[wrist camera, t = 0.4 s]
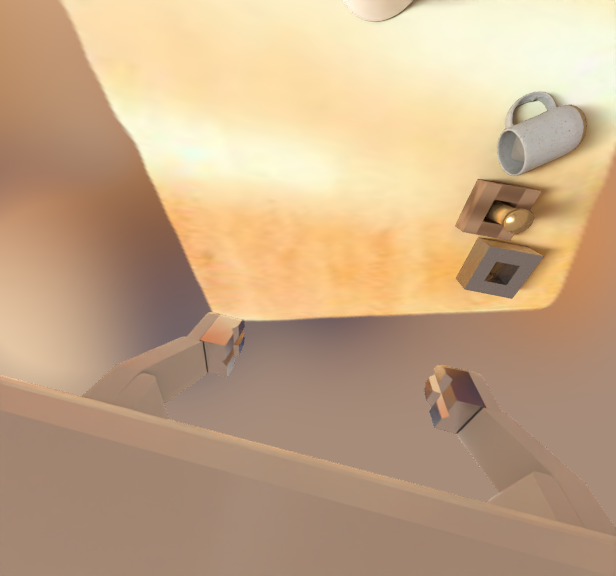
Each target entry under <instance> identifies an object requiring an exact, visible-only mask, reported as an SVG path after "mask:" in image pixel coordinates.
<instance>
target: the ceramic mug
mask: <svg viewBox="0 0 616 576" xmlns="http://www.w3.org/2000/svg"><path fill="white" fill-rule="evenodd" d="M534 100H539V101H541V102H542V103H543V104H544V105H545V107H546V108H547V111H546V112H544V113H542V114H540V115H538V116H535V117H533V118H530V119H528V120H525V121H523V122H521V123H518V124H516V125H514V124H513V122H512V120H513V112H514V110H515V108H516V107H517V106H518V105H521V104H523V103H526V102H529V101H530V102H532V101H534ZM586 127H587V125H586V118H585V116H584V113H583V112H582V111H581V109H579V108H578V107H576V106H573V105H564V106H560V107H556V103H555V101H554V99H553V97H552V96H550V95H549V94H548V93H545V92H533V93H530V94H527V95H525V96H523V97H521V98H520V99H518V100H517V101H516V102H515V103H514V105H513V106H512V107H511V108H510V110H509V112H508V114H507V116H506V129H505V130H504V131H503V132H502V133H501V134H500V137H499V140H498V144H497V154H498V159H499V162H500V165H501V167H502V168H503V170H504V171H505V172H506V173H507V174H509V175H511V176H518V175H521V174H523V173H525V172H527V171H530V170H532V169H534V168H537V167H539V166H541V165H543V164H546V163H548V162H550V161H553V160H555V159H557V158H559V157H562V156H564V155H566V154H567V153H569V152H571V151H572V150H574V149H575V148H576V147H577V146H578V145H579V144H580V143H581V142H582V140H583V138H584V136H585V133H586Z"/></svg>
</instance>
